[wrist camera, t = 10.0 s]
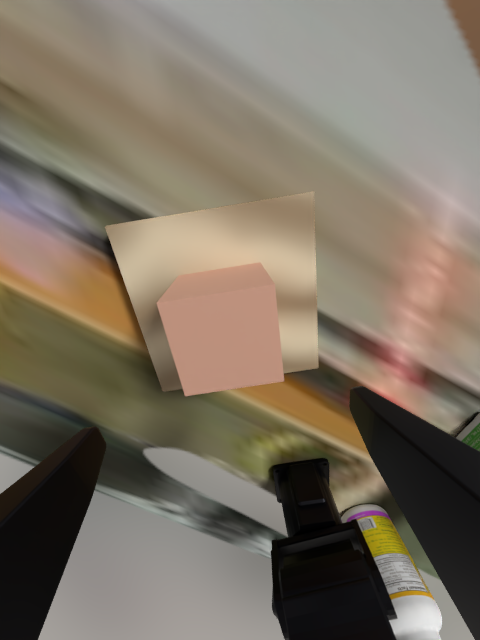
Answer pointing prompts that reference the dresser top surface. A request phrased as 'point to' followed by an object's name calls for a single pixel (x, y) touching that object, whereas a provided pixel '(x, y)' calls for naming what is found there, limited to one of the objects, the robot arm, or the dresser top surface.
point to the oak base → (222, 252)
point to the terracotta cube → (223, 329)
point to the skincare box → (471, 434)
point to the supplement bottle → (398, 575)
